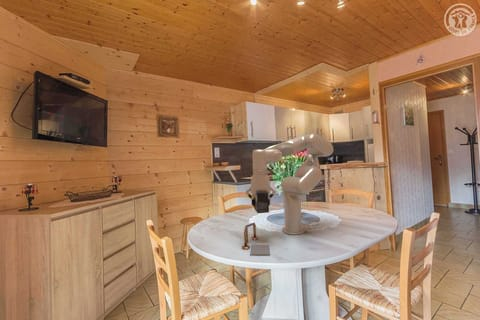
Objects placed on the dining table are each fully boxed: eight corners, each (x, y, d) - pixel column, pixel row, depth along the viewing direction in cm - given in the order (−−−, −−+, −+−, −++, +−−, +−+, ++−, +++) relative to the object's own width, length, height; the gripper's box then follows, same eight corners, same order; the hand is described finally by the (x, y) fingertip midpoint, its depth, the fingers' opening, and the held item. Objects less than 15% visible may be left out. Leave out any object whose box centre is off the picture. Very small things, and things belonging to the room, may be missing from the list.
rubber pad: (269, 245, 113) (269, 244, 113) (270, 255, 102) (270, 254, 102) (251, 245, 114) (251, 244, 114) (250, 255, 103) (250, 254, 103)
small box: (253, 208, 125) (252, 189, 125) (264, 208, 126) (264, 189, 126) (256, 213, 115) (256, 192, 115) (269, 212, 116) (269, 192, 116)
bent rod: (259, 237, 124) (258, 221, 124) (248, 250, 109) (247, 231, 109) (251, 236, 126) (250, 220, 126) (238, 248, 111) (238, 230, 111)
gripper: (275, 172, 124) (276, 204, 124) (243, 172, 125) (244, 205, 125) (277, 173, 116) (278, 207, 116) (243, 173, 117) (244, 208, 117)
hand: (260, 206), depth 121 cm, fingers closed on small box, 6 cm apart
